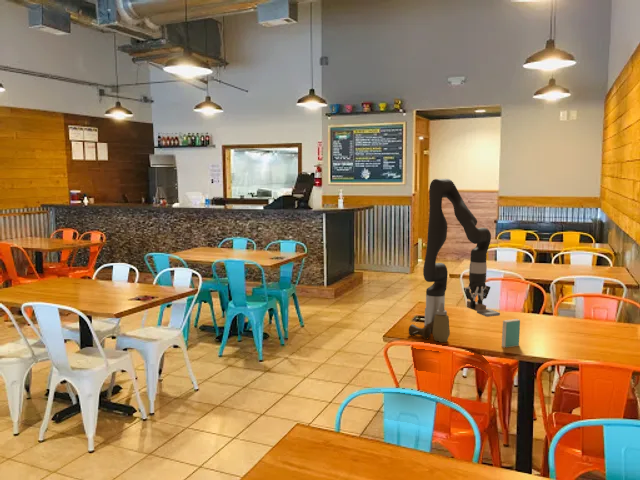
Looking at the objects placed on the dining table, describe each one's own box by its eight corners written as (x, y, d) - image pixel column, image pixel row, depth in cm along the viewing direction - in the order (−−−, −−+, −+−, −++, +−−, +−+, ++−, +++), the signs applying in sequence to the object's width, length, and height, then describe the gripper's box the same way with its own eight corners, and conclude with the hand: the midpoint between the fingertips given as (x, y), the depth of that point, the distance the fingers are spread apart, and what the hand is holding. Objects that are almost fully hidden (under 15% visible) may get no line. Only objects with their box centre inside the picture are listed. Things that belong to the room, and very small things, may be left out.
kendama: (442, 334, 265) (421, 342, 250) (425, 330, 271) (403, 338, 257) (443, 322, 264) (421, 329, 250) (425, 319, 271) (403, 326, 256)
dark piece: (463, 307, 252) (463, 301, 252) (475, 306, 255) (475, 300, 255) (486, 316, 237) (487, 310, 236) (499, 315, 239) (500, 308, 239)
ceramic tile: (501, 346, 244) (502, 320, 243) (515, 344, 247) (517, 318, 246) (505, 347, 242) (506, 321, 241) (519, 345, 245) (520, 320, 243)
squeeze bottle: (428, 339, 255) (429, 301, 252) (443, 337, 257) (444, 300, 255) (438, 344, 247) (439, 305, 245) (453, 342, 250) (454, 304, 248)
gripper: (485, 269, 253) (483, 304, 255) (460, 270, 248) (458, 307, 250) (495, 271, 246) (493, 308, 248) (470, 273, 241) (468, 311, 243)
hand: (476, 307), depth 249 cm, fingers closed on dark piece, 3 cm apart
